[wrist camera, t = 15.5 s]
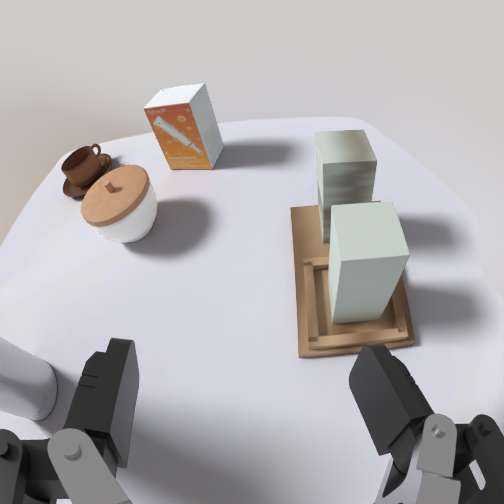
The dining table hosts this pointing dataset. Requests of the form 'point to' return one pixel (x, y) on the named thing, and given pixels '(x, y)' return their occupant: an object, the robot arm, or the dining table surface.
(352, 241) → the sage block
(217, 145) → the small box
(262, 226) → the dining table surface
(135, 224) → the lidded jar
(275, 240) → the dining table surface
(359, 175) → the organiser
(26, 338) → the dining table surface
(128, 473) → the dining table surface
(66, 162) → the cup and saucer
